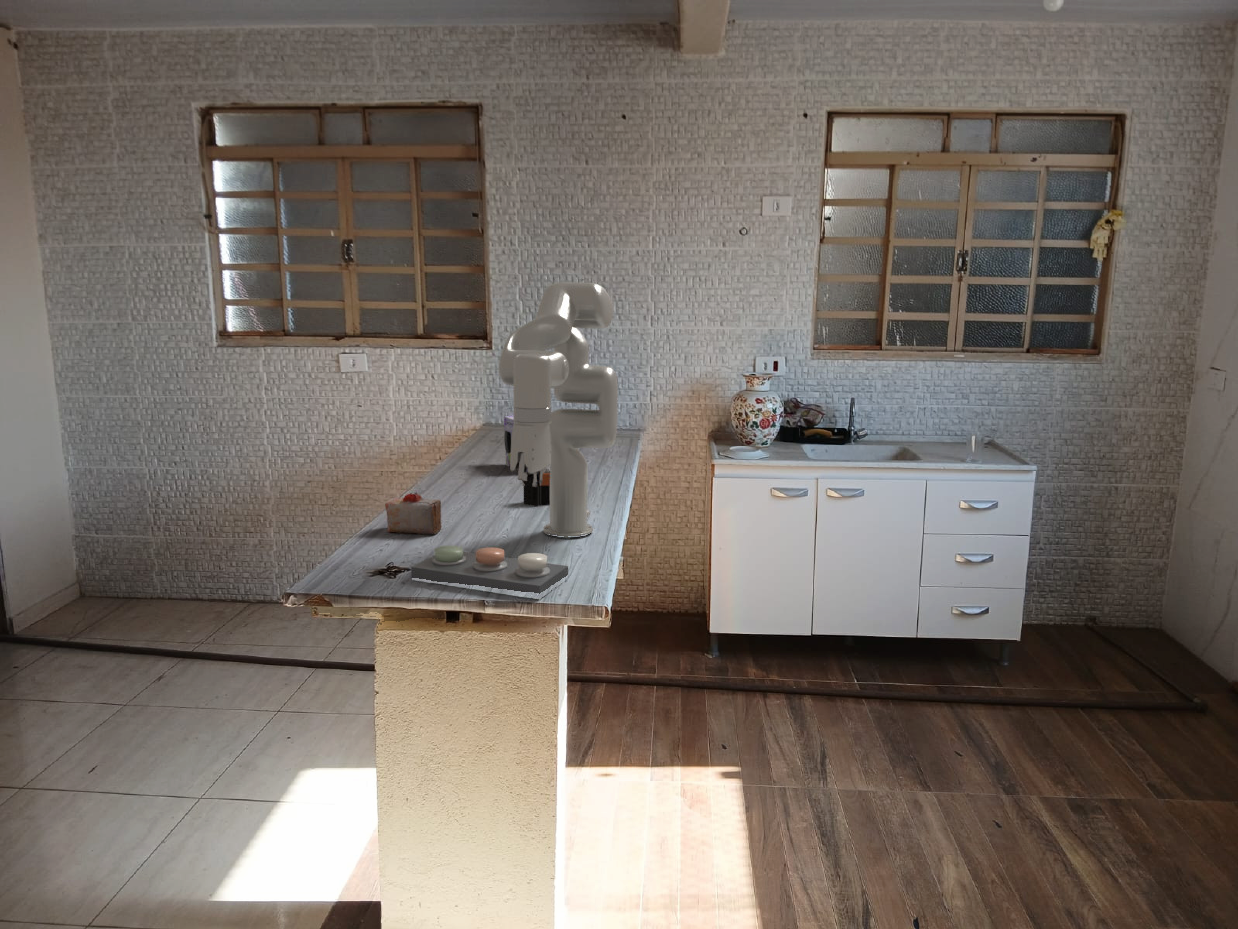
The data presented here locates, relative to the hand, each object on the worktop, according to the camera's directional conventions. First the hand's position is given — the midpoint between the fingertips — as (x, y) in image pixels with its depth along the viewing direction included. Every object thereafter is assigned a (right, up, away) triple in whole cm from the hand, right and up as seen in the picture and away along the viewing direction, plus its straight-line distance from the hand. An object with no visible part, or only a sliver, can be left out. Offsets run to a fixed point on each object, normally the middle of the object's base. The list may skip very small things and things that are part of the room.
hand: (532, 504), depth 184 cm
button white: (0, -14, +3) cm, 14 cm away
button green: (-19, -13, +10) cm, 25 cm away
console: (-10, -16, +7) cm, 20 cm away
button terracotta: (-10, -13, +6) cm, 17 cm away
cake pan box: (-16, +6, +121) cm, 122 cm away
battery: (-5, -3, +75) cm, 75 cm away
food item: (-34, -9, +43) cm, 56 cm away
